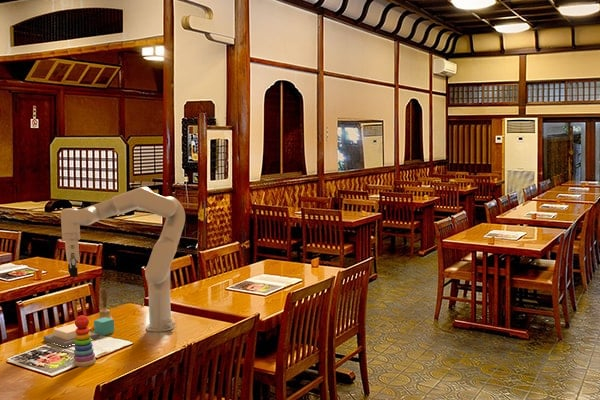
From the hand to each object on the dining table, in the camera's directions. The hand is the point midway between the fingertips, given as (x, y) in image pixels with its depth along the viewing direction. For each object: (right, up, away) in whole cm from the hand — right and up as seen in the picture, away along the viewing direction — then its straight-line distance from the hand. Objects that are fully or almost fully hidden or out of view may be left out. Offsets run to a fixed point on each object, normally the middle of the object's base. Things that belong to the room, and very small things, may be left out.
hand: (73, 274), depth 271 cm
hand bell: (+9, -25, +18) cm, 31 cm away
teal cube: (+14, -26, 0) cm, 29 cm away
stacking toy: (+19, -29, -38) cm, 52 cm away
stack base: (+3, -27, -9) cm, 28 cm away
